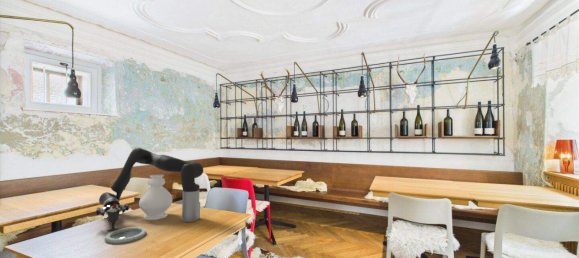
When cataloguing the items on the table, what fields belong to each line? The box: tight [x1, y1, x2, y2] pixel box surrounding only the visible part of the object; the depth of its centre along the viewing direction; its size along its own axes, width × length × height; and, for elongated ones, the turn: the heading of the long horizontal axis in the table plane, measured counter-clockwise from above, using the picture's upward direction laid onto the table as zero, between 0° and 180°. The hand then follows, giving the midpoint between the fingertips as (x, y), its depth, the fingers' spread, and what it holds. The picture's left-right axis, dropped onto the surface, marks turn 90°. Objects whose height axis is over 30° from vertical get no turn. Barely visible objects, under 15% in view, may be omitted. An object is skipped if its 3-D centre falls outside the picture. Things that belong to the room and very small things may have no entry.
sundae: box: [106, 202, 122, 233], centre depth 128 cm, size 7×7×15 cm
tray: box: [104, 226, 147, 245], centre depth 120 cm, size 17×17×2 cm
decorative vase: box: [138, 173, 173, 221], centre depth 150 cm, size 18×18×25 cm
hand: (113, 212), depth 129 cm, fingers open, 8 cm apart
